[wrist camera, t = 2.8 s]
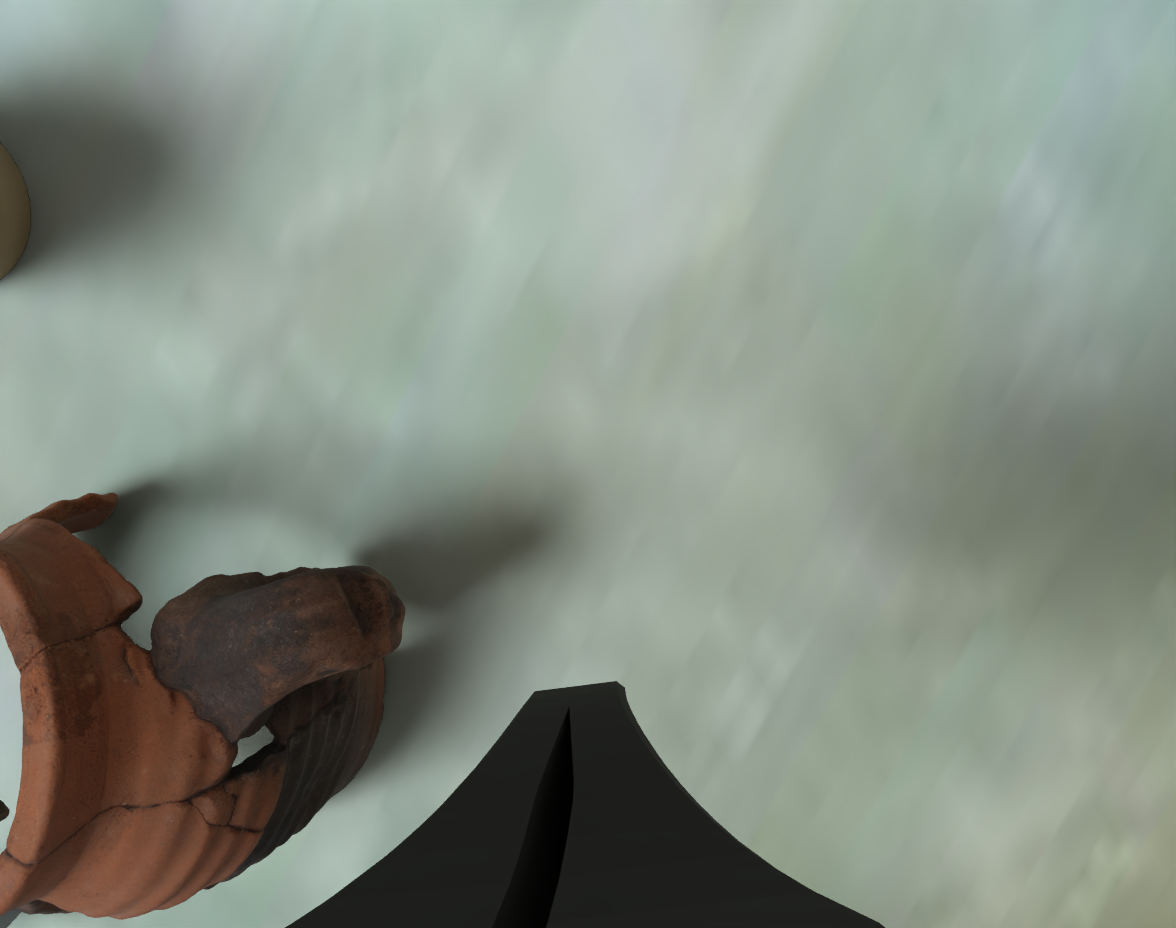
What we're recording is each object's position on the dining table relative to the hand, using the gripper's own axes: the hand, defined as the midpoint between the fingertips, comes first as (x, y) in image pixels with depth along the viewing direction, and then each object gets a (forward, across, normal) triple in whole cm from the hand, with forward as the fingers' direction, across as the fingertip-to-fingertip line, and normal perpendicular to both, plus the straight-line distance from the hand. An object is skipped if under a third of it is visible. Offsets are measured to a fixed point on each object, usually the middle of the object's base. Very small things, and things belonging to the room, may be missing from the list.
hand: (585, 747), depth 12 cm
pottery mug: (+9, +10, +1) cm, 13 cm away
